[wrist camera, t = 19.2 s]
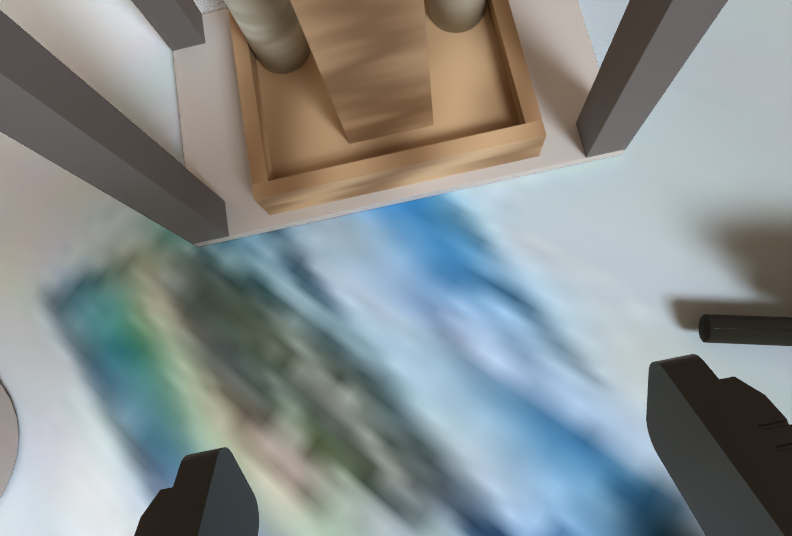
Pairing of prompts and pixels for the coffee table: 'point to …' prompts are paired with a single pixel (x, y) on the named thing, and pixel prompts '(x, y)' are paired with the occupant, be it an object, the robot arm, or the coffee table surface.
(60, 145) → the grey stool
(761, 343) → the handheld radio
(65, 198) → the coffee table surface
